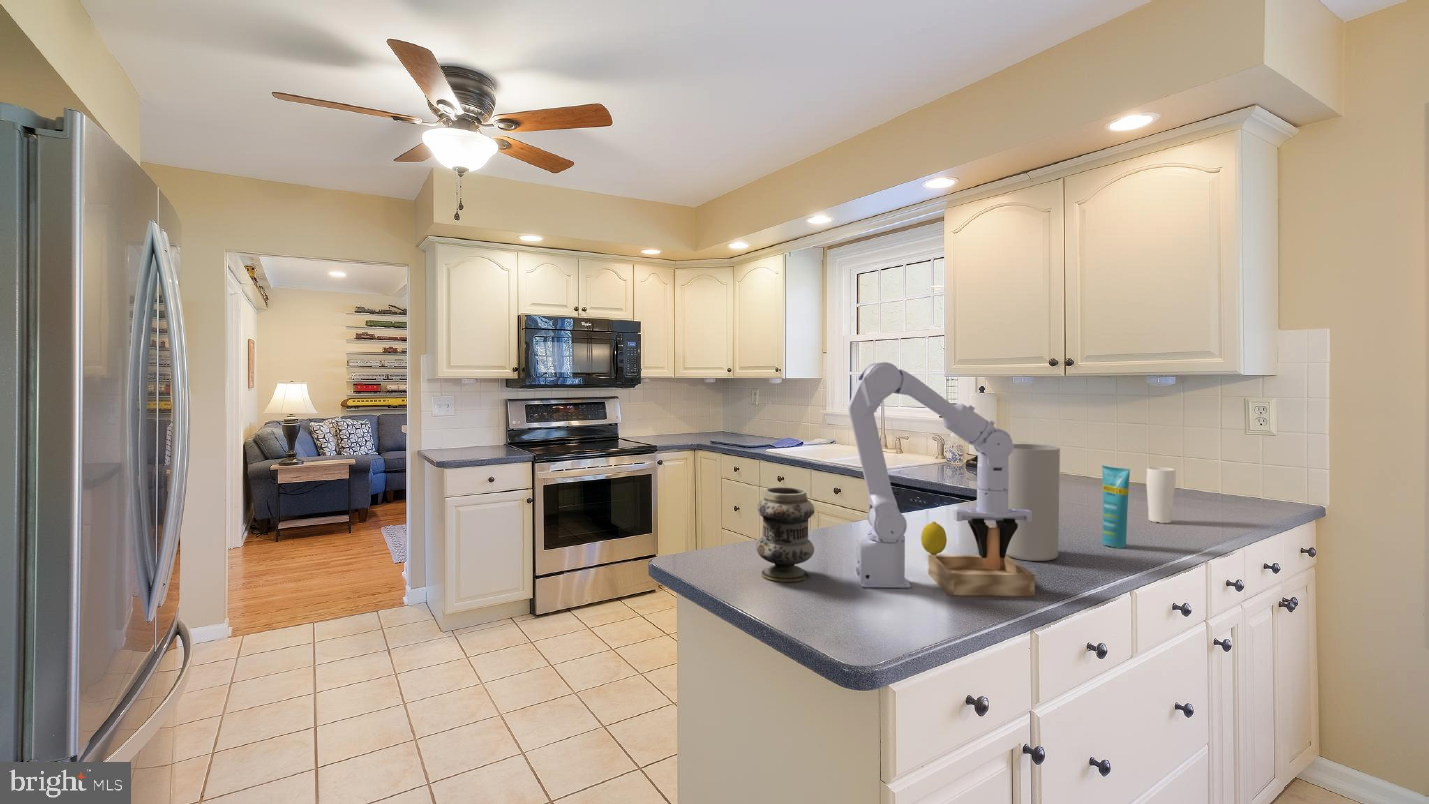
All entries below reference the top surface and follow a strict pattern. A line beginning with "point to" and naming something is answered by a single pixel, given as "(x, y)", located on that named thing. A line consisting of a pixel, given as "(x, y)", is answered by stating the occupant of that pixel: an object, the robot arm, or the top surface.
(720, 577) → the top surface
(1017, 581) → the box
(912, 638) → the top surface
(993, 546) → the peg
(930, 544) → the lemon
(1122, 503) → the tube
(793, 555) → the apothecary jar
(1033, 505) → the cylinder vase
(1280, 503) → the top surface
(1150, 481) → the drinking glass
